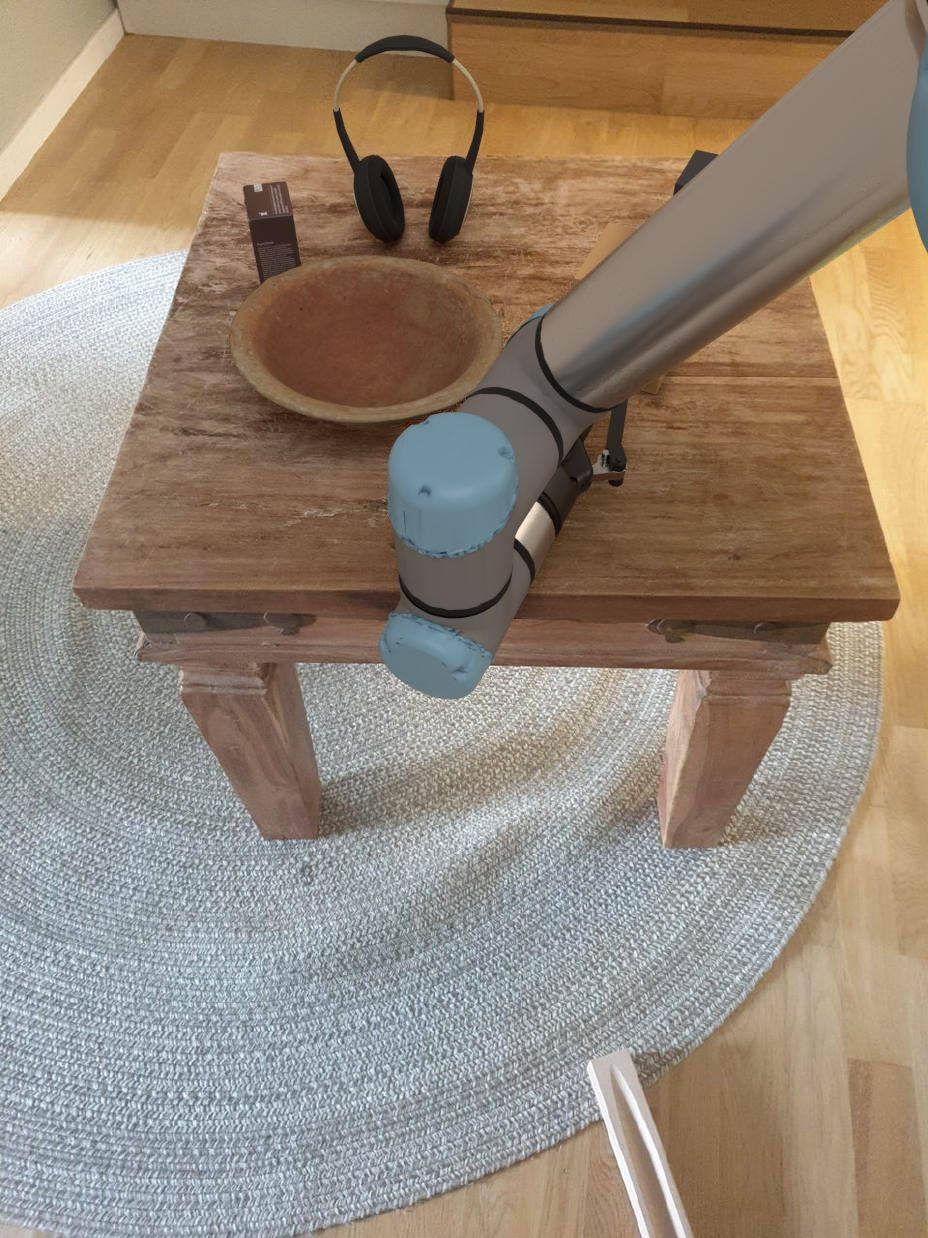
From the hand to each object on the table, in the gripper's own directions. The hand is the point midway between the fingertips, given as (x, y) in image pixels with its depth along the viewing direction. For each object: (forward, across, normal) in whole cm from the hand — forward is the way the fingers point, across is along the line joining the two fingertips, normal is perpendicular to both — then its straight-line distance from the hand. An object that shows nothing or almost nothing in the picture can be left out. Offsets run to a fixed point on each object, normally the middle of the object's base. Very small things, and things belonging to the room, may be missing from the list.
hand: (617, 329), depth 82 cm
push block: (+5, 0, -6) cm, 8 cm away
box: (-3, -34, -6) cm, 34 cm away
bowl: (-10, -20, -6) cm, 23 cm away
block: (+26, +2, -6) cm, 27 cm away
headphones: (+14, -27, -6) cm, 31 cm away
